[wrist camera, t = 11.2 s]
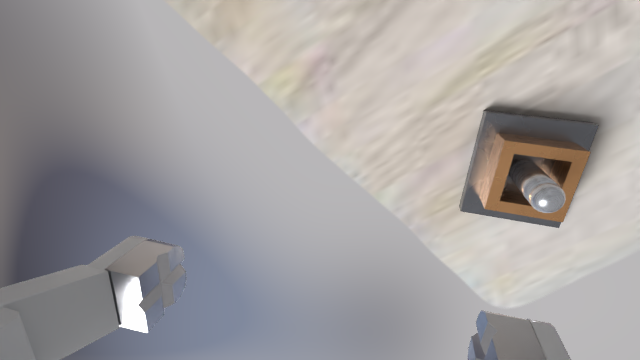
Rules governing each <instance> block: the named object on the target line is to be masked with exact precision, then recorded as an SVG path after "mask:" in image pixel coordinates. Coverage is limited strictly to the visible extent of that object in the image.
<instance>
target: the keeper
mask: <svg viewBox="0 0 640 360" xmlns="http://www.w3.org/2000/svg"><path fill="white" fill-rule="evenodd" d="M598 126H599V125H596V124H594V123H590V122H582V121H573V120H564V119H556V118H547V117H538V116H530V115H521V114H512V113H504V112H495V111H486V110H484V112H483V115H482V119H481V123H480V127H479V131H478V135H477V139H476V143H475V147H474V151H473V154H472V158H471V162H470V166H469V170H468V174H467V178H466V182H465V186H464V189H463V193H462V197H461V201H460V205H459V207H460V211H463V212H468V213H474V214H480V215H486V216H492V217H498V218H504V219H510V220H515V221H521V222H527V223H533V224H539V225H545V226H551V227H556V228H559V226H560V224H561V222H558V221H552V220H546V219H540V218H534V217H529V216H523V215H517V214H511V213H505V212H499V211H493V210H487V209H484V206H483V204H482V202H481V200H480V197H479V194H480V190H481V187H482V183H483V179H484V176H485V172H486V169H487V165H488V162H489V158H490V155H491V151H492V148H493V144H494V140H495V137H496V133H505V134H513V135H520V136H528V137H536V138H543V139H551V140H559V141H567V142H574V143H576V144H578V145H580V146H581V147H583V148H585V149H586V150H588V151H589V149H590V147H591V144H592V141H593V139H594V136H595V134H596V131H597V128H598ZM554 162H555V159H548V158H541V157H533V156H526V155H519V154H514V156H513V159H512V162H511V166H510V169H509V172H508V175H507V179H506V182H505V185H504V188H503V190H506V191H512V192H518V193H522V194H523V195H524V197H525V198H526V199H527V201H528V202H529V203H530V205H531V206H532V207H533V208H534V209H535V210H537V211H539V212H542V213H553V212H556V211H558V210H559V209H561V208H562V207H563V205H564V203H565V193H564V191H563V190H562V188H561V187H560V186H559V185H558V184H557V183H555V182H554V181H553V180H552V179H551V178H550V177H549V176H550V173H551V170H552V167H553V165H554Z"/></svg>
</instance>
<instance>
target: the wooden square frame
mask: <svg viewBox="0 0 640 360" xmlns="http://www.w3.org/2000/svg"><path fill="white" fill-rule="evenodd" d="M514 154H519V155H526V156H533V157H541V158H548V159H555V162H554V165H553V167H552V170H551V173H550V176H549V177H550V178H551V179H552V180H553V181H554V182H555V183H557V184H558V185H559V186H560V187H561V188H562V190H563V191H564V193H565V203H564V205H563V207H562V208H561V209H559V210H558V211H556V212H553V213H542V212H539V211H537V210H535V209H534V208H533V207H532V206H531V205H530V203H529V202H528V201H527V199H526V198H525V197H524V195H523V194H522V193H518V192H512V191H506V190H503V188H504V185H505V182H506V179H507V175H508V172H509V169H510V166H511V162H512V159H513V156H514ZM589 155H590V151H588V150H586V149H585V148H583V147H581V146H580V145H578V144H576V143H574V142H567V141H559V140H551V139H543V138H536V137H528V136H520V135H513V134H505V133H496V137H495V140H494V144H493V148H492V151H491V155H490V158H489V162H488V165H487V169H486V172H485V176H484V179H483V183H482V187H481V190H480V194H479V197H480V200H481V202H482V204H483V206H484V209H487V210H493V211H499V212H505V213H511V214H517V215H523V216H529V217H534V218H540V219H546V220H552V221H558V222H563V221H564V218H565V216H566V213H567V210H568V208H569V205H570V203H571V200H572V198H573V195H574V193H575V190H576V188H577V185H578V183H579V180H580V178H581V175H582V173H583V170H584V168H585V165H586V162H587V160H588V157H589Z"/></svg>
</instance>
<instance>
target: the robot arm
mask: <svg viewBox="0 0 640 360" xmlns="http://www.w3.org/2000/svg"><path fill="white" fill-rule="evenodd" d="M183 260H184V252H183V248H181V247H180V246H178V245H174V244H169V243H165V242H161V241H157V240H152V239H147V238H143V237H139V236H131V237H129V238H127V239H125V240H124V241H122V242H121V243H120V244H118V245H117V246H115V247H114V248H112V249H111V250H109V251H108V252H106V253H105V254H103V255H102V256H100V257H99V258H97V259H96V260H95V261H93V262H92V263H90V264H89V265H87V266H85V265H79V266H76V267H72V268H69V269H65V270H62V271H59V272H55V273H52V274H48V275H45V276H41V277H38V278H34V279H31V280H27V281H24V282H21V283H17V284H14V285H10V286H7V287H4V288H0V360H61V359H62V358H64V357H66V356H68V355H70V354H72V353H74V352H76V351H77V350H79V349H81V348H83V347H85V346H87V345H88V344H90V343H92V342H94V341H96V340H98V339H100V338H102V337H103V336H105V335H107V334H109V333H111V332H113V331H115V330H116V329H118V328H119V327H120V326H122V327H126V328H130V329H134V330H138V331H142V332H147V333H148V332H149V331H150V330H151V328H153V326H154V325H155V324H156V323H157V322H158V321H159V320H160V319H161V318H162V317H163V315H164V308H166V307H168V306H170V305H172V304H174V303H175V302H176V301H177V300H178V299H179V298H180V297H181V295H182V292H183V290H184V288H185V285H186V271H185V270H184V268H183V267H182V265H181V263H182V261H183ZM476 325H477V330H478V333H477V334H475V335H474V336H472V337H471V341H470V344H469V349H468V360H571V359H570V357H569V355H568V353H567V351H566V349H565V347H564V345H563V343H562V341H561V339H560V337H559V335H558V333H557V331H556V329H555V327H554V326H553V325H551V324H550V323H545V322H540V321H534V320H529V319H526V320H525V319H521V318H516V317H512V316H507V315H502V314H497V313H492V312H487V311H483V310H482V311H481V312H480V313H479V315H478V318H477V321H476Z"/></svg>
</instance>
